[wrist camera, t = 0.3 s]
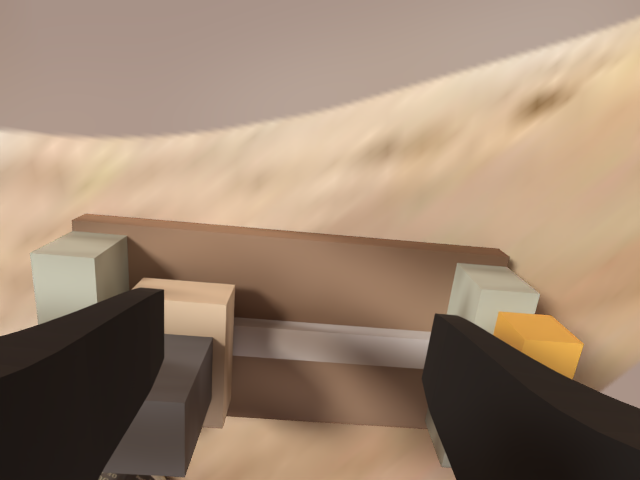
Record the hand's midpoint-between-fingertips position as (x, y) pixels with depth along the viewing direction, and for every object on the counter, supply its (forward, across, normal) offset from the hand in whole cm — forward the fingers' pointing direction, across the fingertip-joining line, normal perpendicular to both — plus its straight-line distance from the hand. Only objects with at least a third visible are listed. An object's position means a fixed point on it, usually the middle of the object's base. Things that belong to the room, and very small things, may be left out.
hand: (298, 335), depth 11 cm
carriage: (+7, +5, +5) cm, 10 cm away
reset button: (+4, -8, +2) cm, 10 cm away
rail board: (+10, 0, +5) cm, 11 cm away
